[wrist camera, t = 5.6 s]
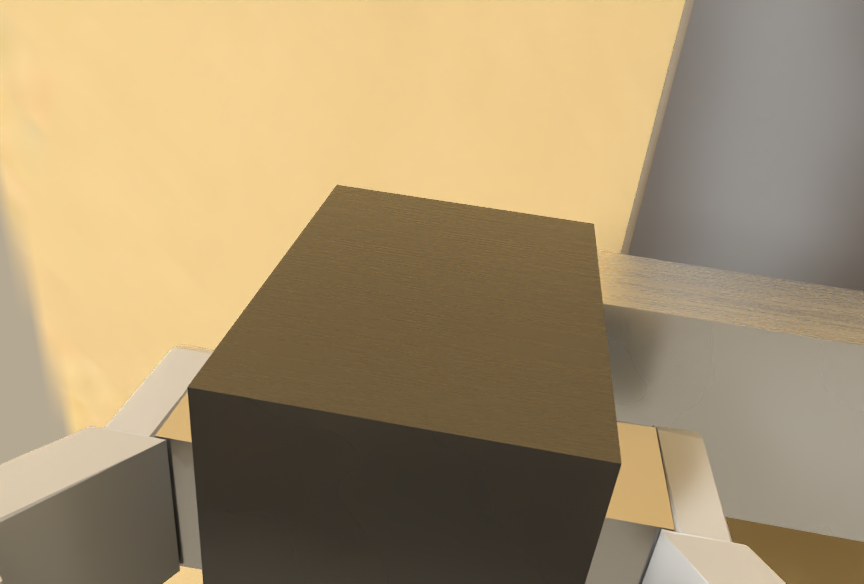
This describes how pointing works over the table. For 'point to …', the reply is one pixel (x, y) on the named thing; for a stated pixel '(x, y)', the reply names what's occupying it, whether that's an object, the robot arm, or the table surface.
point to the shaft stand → (759, 144)
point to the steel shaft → (503, 398)
